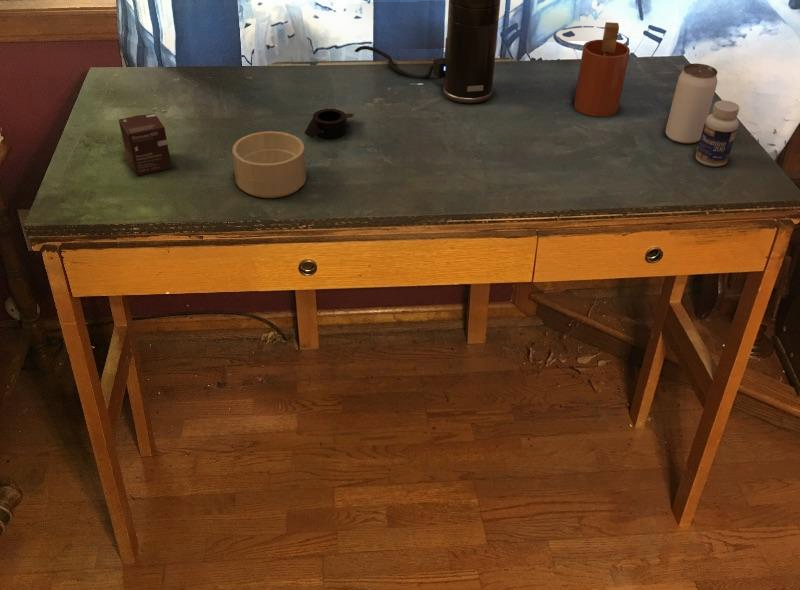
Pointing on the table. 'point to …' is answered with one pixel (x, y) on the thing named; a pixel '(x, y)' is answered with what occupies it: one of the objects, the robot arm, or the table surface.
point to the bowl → (269, 164)
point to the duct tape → (328, 124)
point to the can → (691, 103)
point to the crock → (600, 79)
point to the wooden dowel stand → (609, 38)
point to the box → (145, 143)
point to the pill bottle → (718, 134)
